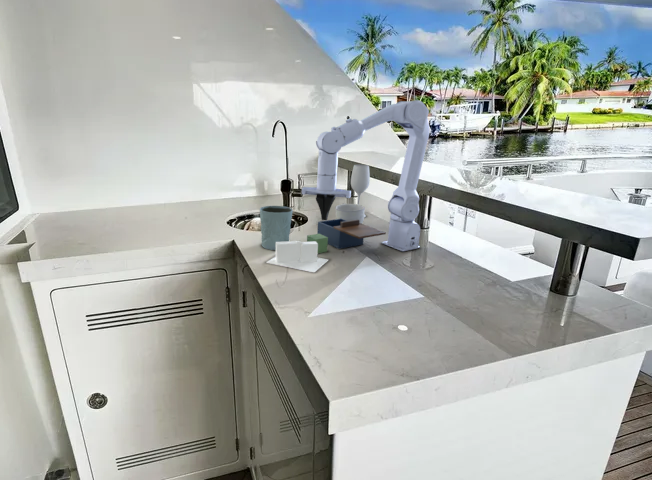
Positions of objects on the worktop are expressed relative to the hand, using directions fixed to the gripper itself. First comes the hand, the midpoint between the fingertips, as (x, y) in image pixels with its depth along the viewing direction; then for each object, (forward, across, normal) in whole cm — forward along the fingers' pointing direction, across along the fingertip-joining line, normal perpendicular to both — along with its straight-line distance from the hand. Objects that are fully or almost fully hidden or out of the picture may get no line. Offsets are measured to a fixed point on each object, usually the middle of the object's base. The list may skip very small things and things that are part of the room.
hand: (324, 219), depth 116 cm
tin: (+10, -4, -10) cm, 14 cm away
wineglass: (+10, -4, -48) cm, 49 cm away
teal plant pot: (+10, +15, +2) cm, 18 cm away
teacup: (+10, -3, -30) cm, 32 cm away
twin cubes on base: (+10, +4, +13) cm, 17 cm away
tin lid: (+4, -10, -4) cm, 12 cm away
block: (+10, +2, +2) cm, 10 cm away
